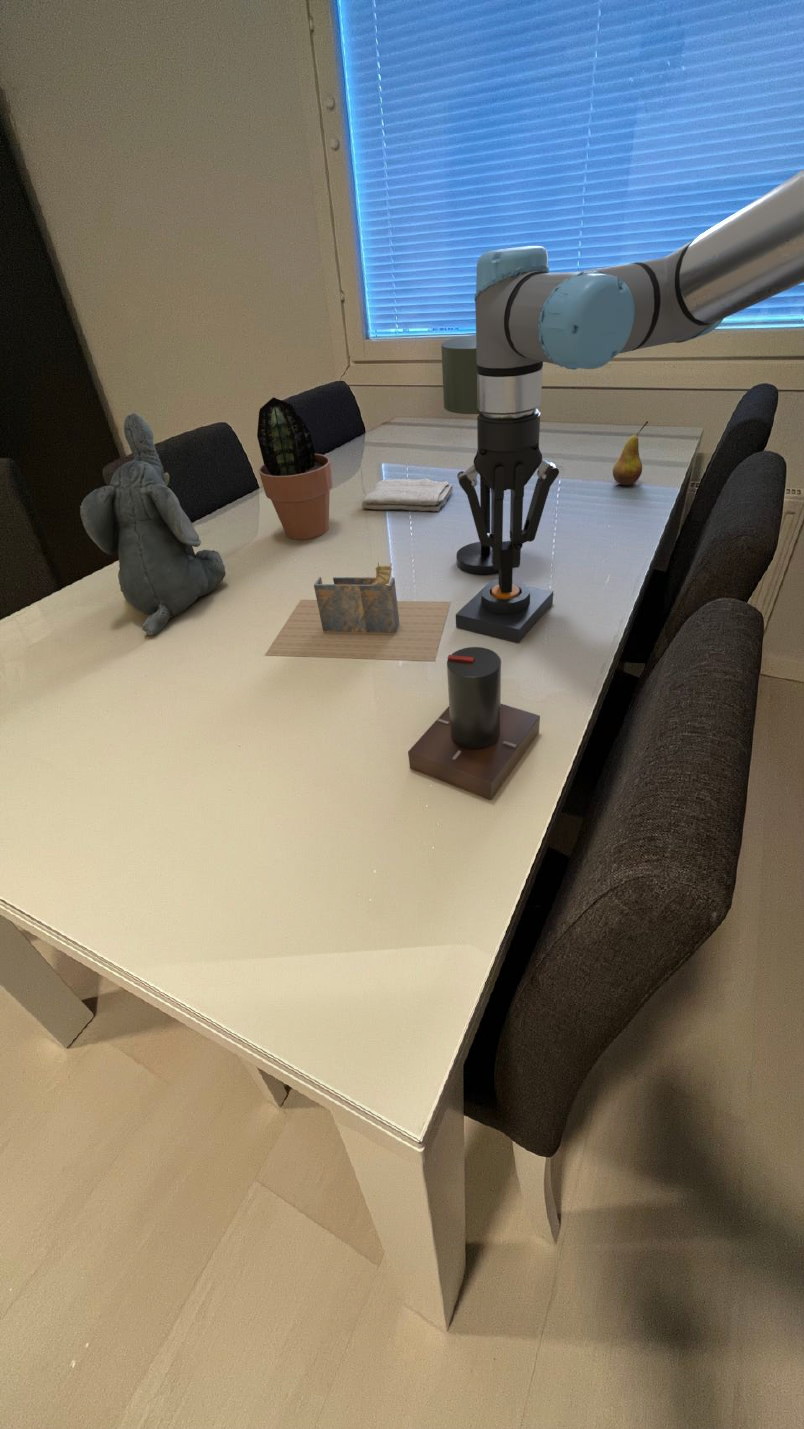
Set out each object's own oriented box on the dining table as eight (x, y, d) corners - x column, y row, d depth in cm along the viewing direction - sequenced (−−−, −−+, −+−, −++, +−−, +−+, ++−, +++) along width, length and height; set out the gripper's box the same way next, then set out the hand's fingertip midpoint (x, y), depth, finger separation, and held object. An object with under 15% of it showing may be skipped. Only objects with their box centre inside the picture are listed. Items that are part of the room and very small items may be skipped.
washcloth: (442, 512, 123) (441, 497, 121) (360, 511, 128) (358, 496, 126) (455, 492, 132) (454, 477, 130) (377, 491, 137) (376, 477, 135)
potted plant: (351, 532, 120) (330, 393, 104) (287, 551, 116) (255, 409, 100) (325, 512, 130) (302, 383, 114) (265, 529, 125) (233, 397, 110)
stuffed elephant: (188, 562, 116) (136, 409, 99) (251, 591, 104) (204, 422, 87) (94, 603, 106) (17, 440, 89) (151, 640, 94) (75, 460, 77)
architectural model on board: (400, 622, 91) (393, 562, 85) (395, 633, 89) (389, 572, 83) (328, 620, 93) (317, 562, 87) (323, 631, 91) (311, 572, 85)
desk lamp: (532, 553, 105) (542, 332, 84) (501, 583, 98) (504, 348, 77) (471, 543, 111) (467, 333, 90) (438, 570, 103) (425, 348, 83)
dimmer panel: (539, 732, 69) (540, 714, 67) (491, 800, 62) (491, 782, 60) (462, 707, 74) (461, 690, 72) (409, 768, 66) (407, 750, 65)
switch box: (552, 604, 91) (554, 580, 89) (518, 643, 84) (519, 618, 81) (493, 591, 96) (493, 568, 93) (455, 627, 88) (454, 603, 86)
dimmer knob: (504, 720, 67) (505, 647, 61) (494, 752, 63) (494, 677, 57) (457, 714, 69) (454, 641, 63) (445, 745, 65) (440, 671, 59)
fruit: (617, 478, 130) (625, 417, 122) (644, 481, 126) (653, 420, 119) (606, 486, 126) (614, 424, 119) (633, 490, 123) (642, 427, 116)
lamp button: (523, 597, 88) (524, 586, 87) (511, 609, 86) (512, 598, 85) (499, 591, 90) (499, 581, 89) (486, 603, 88) (486, 593, 87)
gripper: (556, 397, 75) (545, 572, 90) (451, 408, 75) (457, 580, 90) (571, 412, 69) (556, 596, 84) (457, 424, 69) (462, 605, 84)
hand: (505, 587), depth 87 cm, fingers closed
